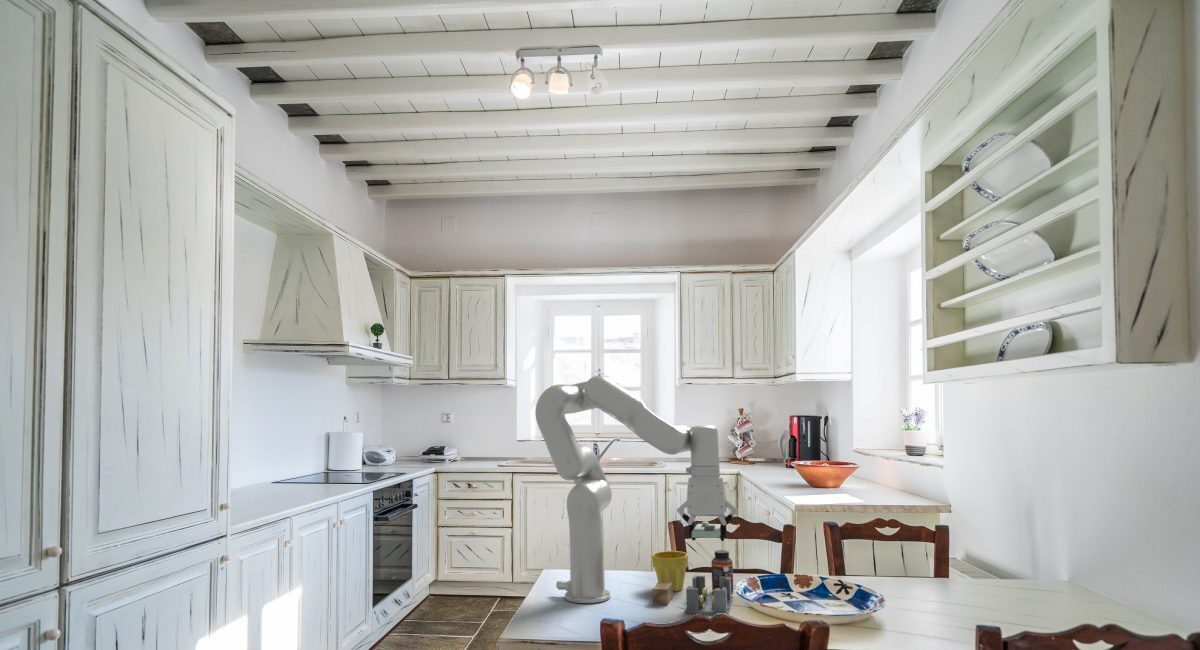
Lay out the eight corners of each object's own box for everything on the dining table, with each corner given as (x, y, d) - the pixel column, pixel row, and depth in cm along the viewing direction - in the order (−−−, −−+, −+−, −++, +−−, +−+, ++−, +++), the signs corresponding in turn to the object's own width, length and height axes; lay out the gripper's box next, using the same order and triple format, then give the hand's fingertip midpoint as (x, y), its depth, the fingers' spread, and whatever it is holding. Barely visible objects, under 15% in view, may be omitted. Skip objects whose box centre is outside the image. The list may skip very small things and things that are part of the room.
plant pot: (650, 592, 217) (649, 557, 218) (655, 583, 227) (655, 550, 228) (686, 594, 215) (685, 558, 215) (690, 585, 225) (689, 551, 225)
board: (691, 537, 199) (691, 527, 199) (697, 529, 210) (697, 520, 211) (719, 538, 197) (718, 528, 197) (723, 529, 209) (723, 520, 209)
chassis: (684, 613, 196) (683, 589, 196) (693, 597, 211) (692, 574, 212) (728, 615, 193) (727, 591, 194) (733, 599, 208) (732, 576, 209)
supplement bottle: (733, 595, 213) (731, 553, 214) (711, 594, 214) (710, 553, 215) (733, 589, 218) (732, 549, 219) (712, 589, 220) (711, 548, 221)
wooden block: (653, 604, 205) (652, 588, 205) (658, 596, 213) (658, 581, 213) (667, 605, 204) (667, 589, 204) (672, 597, 212) (672, 582, 212)
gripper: (671, 473, 204) (673, 541, 202) (737, 473, 199) (740, 543, 198) (675, 470, 211) (678, 536, 209) (739, 470, 207) (742, 537, 205)
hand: (708, 539), depth 204 cm, fingers closed on board, 7 cm apart
